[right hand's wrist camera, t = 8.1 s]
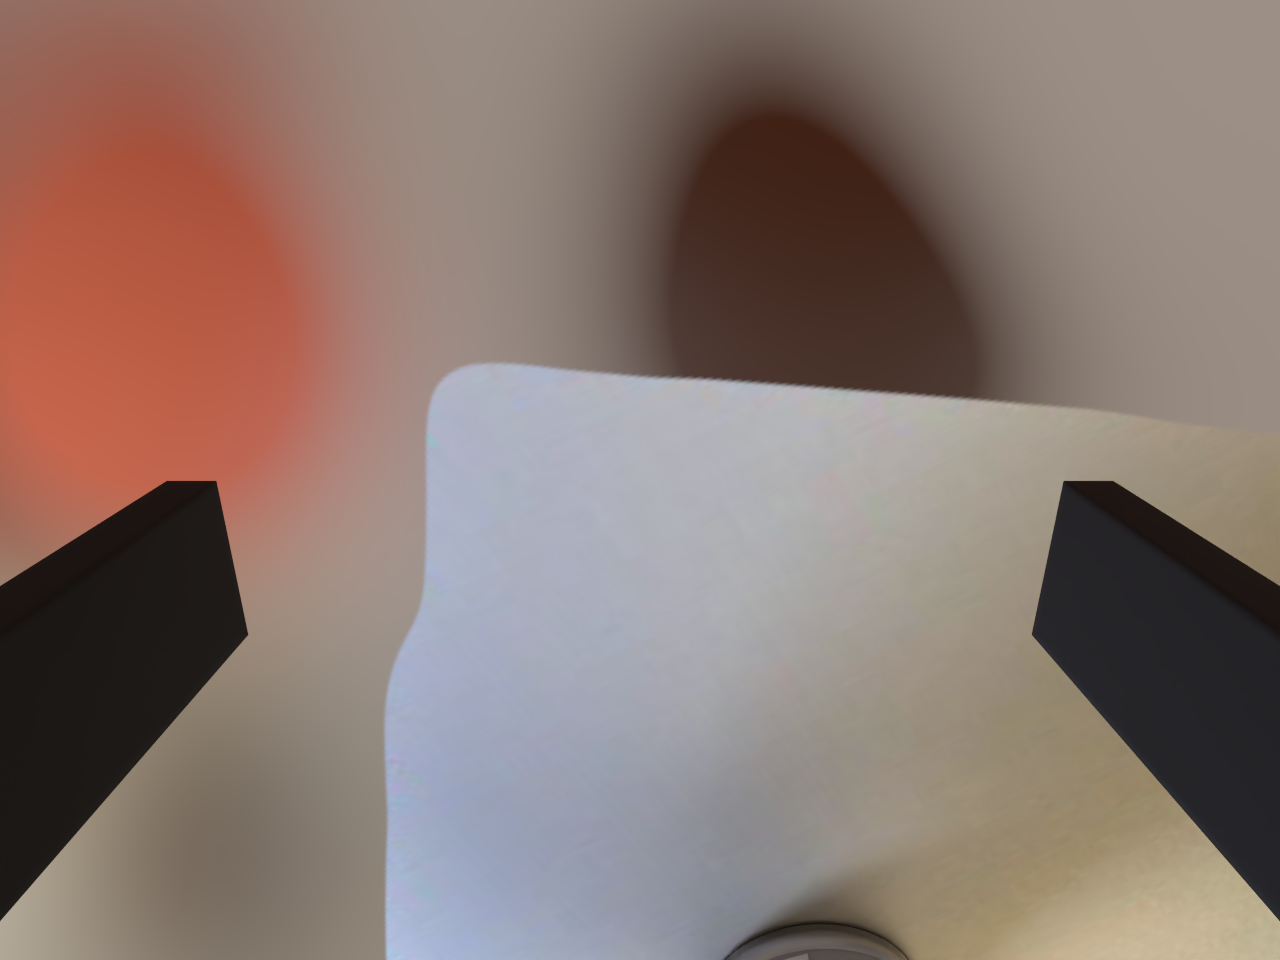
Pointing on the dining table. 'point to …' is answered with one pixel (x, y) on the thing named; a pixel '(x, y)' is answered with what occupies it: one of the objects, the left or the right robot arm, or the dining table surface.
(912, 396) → the dining table surface
